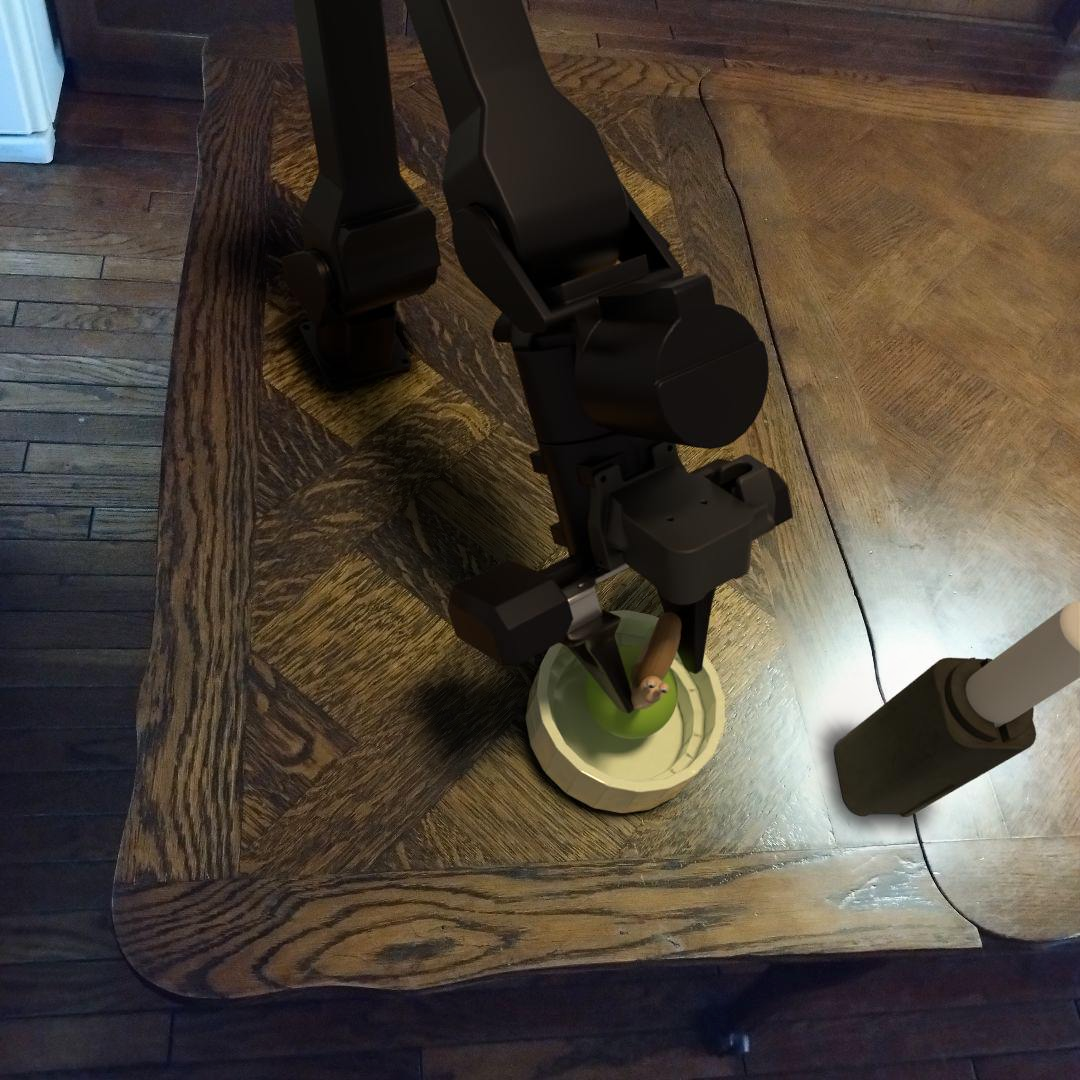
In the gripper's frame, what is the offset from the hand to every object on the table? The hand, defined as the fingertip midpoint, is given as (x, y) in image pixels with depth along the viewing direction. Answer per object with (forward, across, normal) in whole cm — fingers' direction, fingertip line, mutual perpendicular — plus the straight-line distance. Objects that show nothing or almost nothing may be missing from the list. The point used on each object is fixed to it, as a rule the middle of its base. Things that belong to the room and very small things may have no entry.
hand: (660, 690), depth 54 cm
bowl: (+5, 0, +7) cm, 8 cm away
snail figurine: (+4, 0, +6) cm, 7 cm away
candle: (+13, +13, -1) cm, 19 cm away
